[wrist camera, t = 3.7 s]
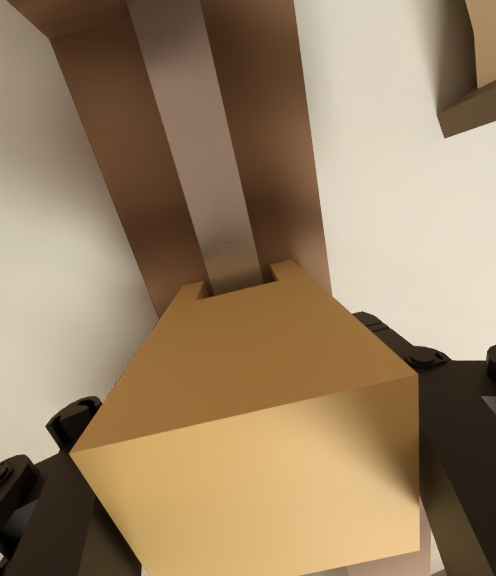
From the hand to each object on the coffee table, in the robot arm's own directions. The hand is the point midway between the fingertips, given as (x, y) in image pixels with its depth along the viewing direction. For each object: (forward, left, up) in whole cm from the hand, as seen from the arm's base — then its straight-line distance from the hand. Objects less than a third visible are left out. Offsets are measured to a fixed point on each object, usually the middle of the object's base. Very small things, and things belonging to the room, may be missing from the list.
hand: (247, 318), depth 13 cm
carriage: (0, 0, -1) cm, 1 cm away
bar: (0, +5, -1) cm, 5 cm away
